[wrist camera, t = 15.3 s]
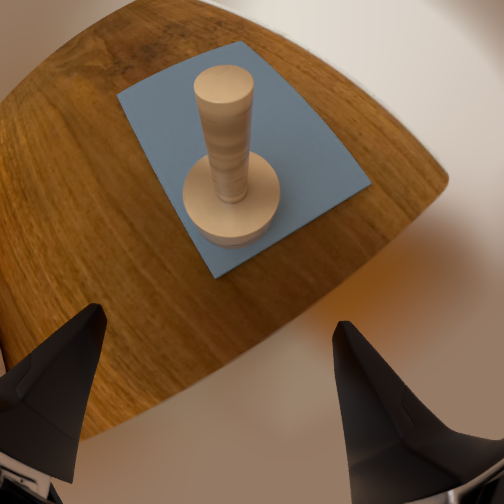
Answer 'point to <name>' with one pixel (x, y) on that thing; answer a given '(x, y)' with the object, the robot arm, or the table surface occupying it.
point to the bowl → (2, 365)
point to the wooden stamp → (229, 164)
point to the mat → (261, 143)
